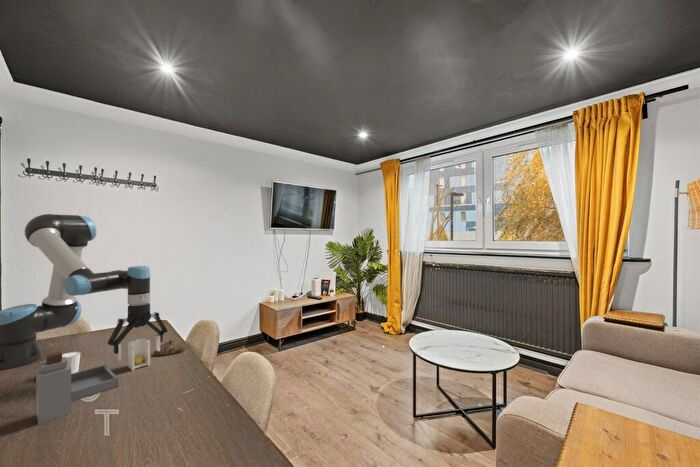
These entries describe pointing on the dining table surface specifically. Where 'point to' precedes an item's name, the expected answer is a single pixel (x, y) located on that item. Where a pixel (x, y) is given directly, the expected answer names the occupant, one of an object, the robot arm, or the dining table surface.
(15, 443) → the dining table surface
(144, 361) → the white u-shaped stool
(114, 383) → the tray
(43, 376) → the perfume bottle
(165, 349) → the bread roll
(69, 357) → the shot glass
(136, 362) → the ball
